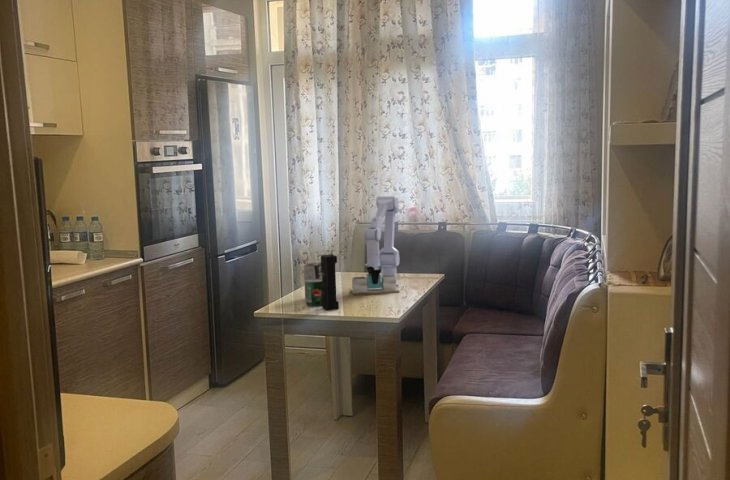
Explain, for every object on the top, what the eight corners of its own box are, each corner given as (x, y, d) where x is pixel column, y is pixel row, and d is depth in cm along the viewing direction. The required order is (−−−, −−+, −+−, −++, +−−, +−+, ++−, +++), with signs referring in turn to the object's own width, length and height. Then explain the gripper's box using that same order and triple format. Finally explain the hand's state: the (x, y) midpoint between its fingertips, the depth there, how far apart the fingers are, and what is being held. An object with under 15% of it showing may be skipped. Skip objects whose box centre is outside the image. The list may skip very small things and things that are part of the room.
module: (366, 286, 324) (366, 273, 323) (379, 285, 325) (378, 272, 324) (368, 288, 320) (367, 275, 319) (381, 287, 321) (380, 274, 320)
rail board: (349, 292, 325) (349, 276, 324) (395, 289, 329) (394, 273, 328) (352, 295, 316) (352, 279, 316) (399, 292, 320) (399, 276, 319)
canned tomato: (311, 303, 303) (310, 278, 301) (327, 303, 300) (326, 278, 299) (303, 306, 295) (302, 281, 294) (319, 307, 292) (318, 282, 291)
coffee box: (318, 301, 305) (317, 265, 304) (304, 301, 307) (303, 265, 305) (324, 297, 314) (322, 262, 312) (310, 297, 316) (309, 262, 314)
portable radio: (319, 307, 292) (317, 249, 289) (333, 306, 294) (331, 248, 292) (325, 311, 285) (323, 251, 282) (339, 309, 287) (336, 250, 284)
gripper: (362, 252, 327) (363, 281, 329) (367, 256, 313) (368, 286, 314) (376, 252, 328) (377, 280, 330) (382, 255, 314) (383, 285, 316)
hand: (374, 283), depth 322 cm, fingers closed on module, 4 cm apart
